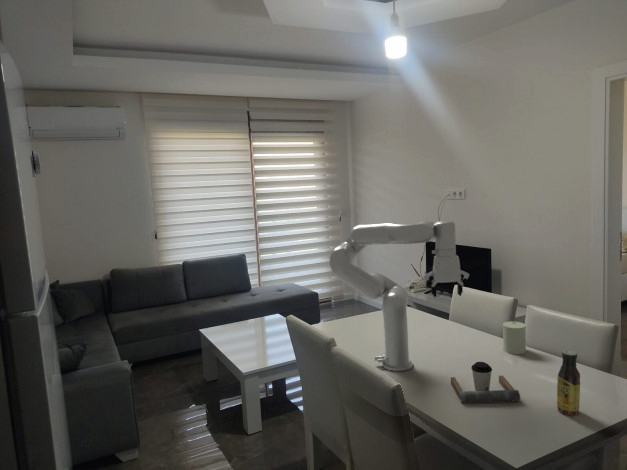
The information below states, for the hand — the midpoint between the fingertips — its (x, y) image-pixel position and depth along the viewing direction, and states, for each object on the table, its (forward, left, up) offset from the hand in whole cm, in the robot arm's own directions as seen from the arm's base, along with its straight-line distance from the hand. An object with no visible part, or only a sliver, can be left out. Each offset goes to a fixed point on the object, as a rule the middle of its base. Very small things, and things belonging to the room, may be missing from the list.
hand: (447, 295), depth 173 cm
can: (+32, +17, -31) cm, 47 cm away
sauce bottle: (+29, -35, -31) cm, 55 cm away
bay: (+7, -21, -30) cm, 37 cm away
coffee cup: (+7, -20, -31) cm, 37 cm away
